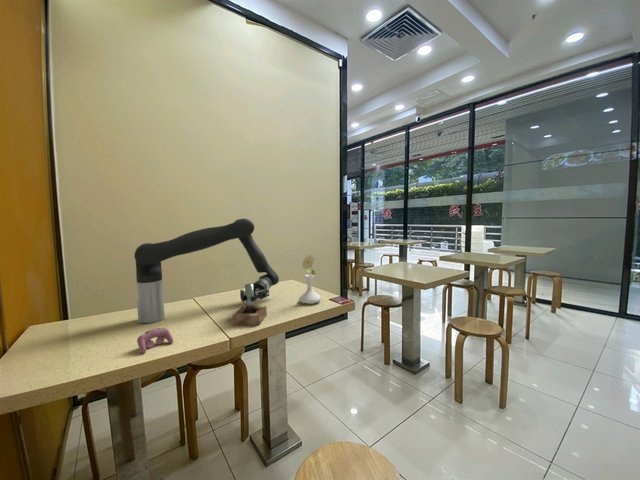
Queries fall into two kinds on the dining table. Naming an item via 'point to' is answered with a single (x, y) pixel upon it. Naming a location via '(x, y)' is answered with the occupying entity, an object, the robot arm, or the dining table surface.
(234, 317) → the square wooden ashtray
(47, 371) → the dining table surface
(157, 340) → the pink curved piece
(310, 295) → the flower in vase
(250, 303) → the metal rod
